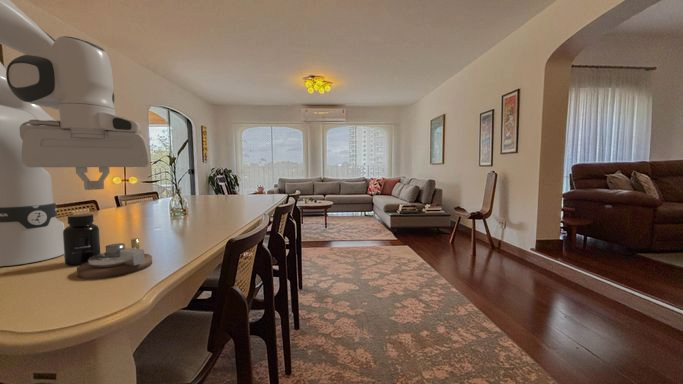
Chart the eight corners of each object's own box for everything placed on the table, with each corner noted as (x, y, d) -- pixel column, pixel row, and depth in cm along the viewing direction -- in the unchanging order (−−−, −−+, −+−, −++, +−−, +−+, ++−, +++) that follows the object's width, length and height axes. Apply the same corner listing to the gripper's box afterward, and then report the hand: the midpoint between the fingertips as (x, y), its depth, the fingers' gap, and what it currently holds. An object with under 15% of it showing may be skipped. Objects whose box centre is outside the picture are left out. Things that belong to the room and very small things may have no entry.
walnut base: (62, 274, 65) (60, 250, 65) (128, 256, 78) (126, 236, 78) (102, 282, 60) (100, 256, 60) (165, 262, 73) (164, 240, 73)
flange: (78, 264, 66) (77, 248, 66) (124, 252, 75) (123, 238, 75) (115, 271, 61) (114, 254, 61) (160, 257, 71) (159, 243, 70)
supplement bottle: (80, 267, 70) (75, 217, 69) (57, 265, 71) (53, 217, 70) (108, 258, 77) (104, 213, 76) (87, 257, 78) (83, 212, 77)
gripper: (10, 116, 52) (17, 192, 54) (146, 123, 62) (150, 188, 63) (26, 121, 58) (32, 190, 59) (149, 127, 68) (152, 186, 69)
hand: (94, 189), depth 61 cm, fingers closed
